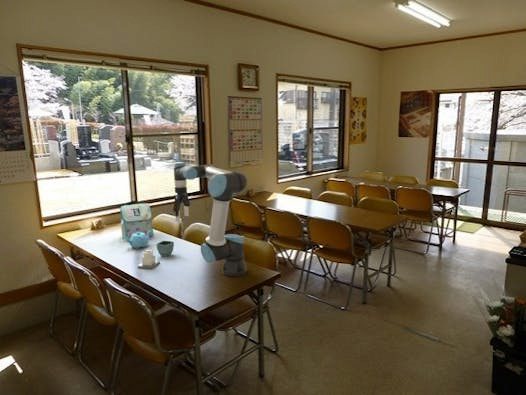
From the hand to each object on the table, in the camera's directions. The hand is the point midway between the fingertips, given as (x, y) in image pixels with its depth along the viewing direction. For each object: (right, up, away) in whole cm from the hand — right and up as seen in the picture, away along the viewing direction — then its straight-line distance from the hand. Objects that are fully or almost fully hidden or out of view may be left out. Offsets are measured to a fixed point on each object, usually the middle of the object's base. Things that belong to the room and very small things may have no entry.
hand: (182, 218), depth 251 cm
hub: (-21, -30, -3) cm, 37 cm away
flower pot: (-15, -26, +16) cm, 34 cm away
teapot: (-39, -23, +35) cm, 57 cm away
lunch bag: (-48, -18, +59) cm, 78 cm away
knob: (-21, -29, -3) cm, 36 cm away
